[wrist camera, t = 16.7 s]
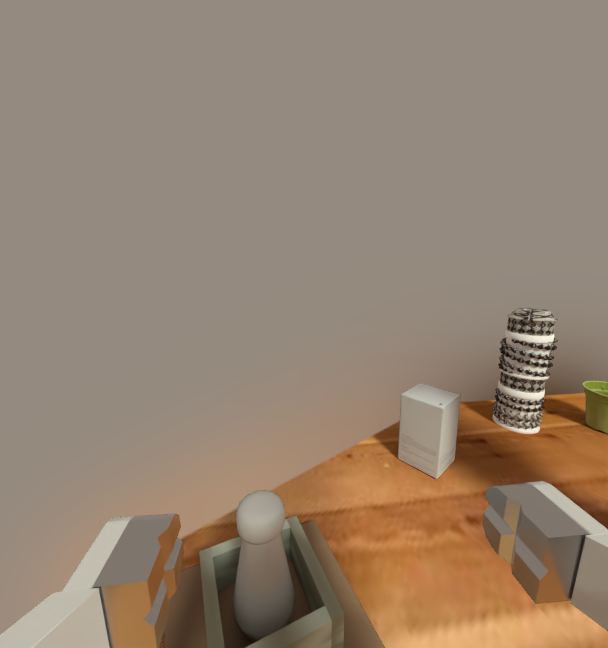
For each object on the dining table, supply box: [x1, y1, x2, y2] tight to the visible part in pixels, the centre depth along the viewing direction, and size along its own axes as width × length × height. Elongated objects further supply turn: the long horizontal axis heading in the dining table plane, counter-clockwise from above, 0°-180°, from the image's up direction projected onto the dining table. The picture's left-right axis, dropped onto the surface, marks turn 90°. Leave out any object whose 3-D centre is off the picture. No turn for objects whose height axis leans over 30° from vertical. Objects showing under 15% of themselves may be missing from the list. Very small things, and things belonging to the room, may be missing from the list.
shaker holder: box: [164, 515, 385, 648], centre depth 28 cm, size 18×16×6 cm
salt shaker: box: [233, 490, 295, 641], centre depth 27 cm, size 6×6×13 cm
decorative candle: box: [492, 308, 557, 434], centre depth 61 cm, size 9×9×25 cm
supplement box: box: [398, 383, 461, 479], centre depth 51 cm, size 7×7×13 cm
